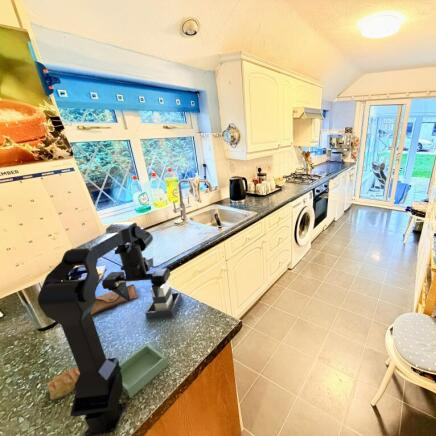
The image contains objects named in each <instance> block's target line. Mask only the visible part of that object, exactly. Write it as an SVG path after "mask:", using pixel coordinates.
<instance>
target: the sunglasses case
mask: <svg viewBox="0 0 436 436" xmlns="http://www.w3.org/2000/svg"><path fill="white" fill-rule="evenodd" d="M126 286H127V289H128V292H129V295H130V300H129V301H127V300H126V299H124V298H123V297H121V296H120V295H118V294H117V293H115V292H113V291H110V292H107V293H103V294H102V295H99V296H96V301H95V303H94V305H93V307H92V309H91V315H92V317H94V316H95V315H97V314H101V313H103V312H105V311H108V310H111V309H113V308H115V307H118V306H120V305H122V304H126V303H127V302H131V301H133V300H137V299H138V298H139V296H138V293H137V291H136V286H135V284H130V285H126Z"/></svg>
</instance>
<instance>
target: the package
mask: <svg viewBox="0 0 436 436" xmlns="http://www.w3.org/2000/svg"><path fill="white" fill-rule="evenodd" d="M169 280H170V279H169V278H168V280H167V281H166V283H165V284H163V285H162V286H161V287H160V292H159V296H158V298H156V297H155V295H154V292H153V289H152V286H151V287H150V293H151V297H152V301H153V302H154V305H155V309H156V311H165V310H170V308H171V306H172V304H173V297H172V293H173V292H172V287H171V285H170V281H169Z"/></svg>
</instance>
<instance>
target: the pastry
mask: <svg viewBox="0 0 436 436" xmlns="http://www.w3.org/2000/svg"><path fill="white" fill-rule="evenodd" d="M79 375H80V372H79V369H78V367H77V366H76V367H74V368H71V369H69V370H66V371H63V372H62V373H61V374H58V375H56V376H54V377H53V379H52V380H51V381H48V382H47V383H46V387H47V390H48V392H49V395H50V396H49V398H50V400H52V401H53V400H56V399H61V398H63V397H65V396H66V395H68V394H70V393H71V392H73V391H74V390H75V383H76V381H77V379H78V377H79Z"/></svg>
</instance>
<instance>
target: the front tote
mask: <svg viewBox="0 0 436 436" xmlns="http://www.w3.org/2000/svg"><path fill="white" fill-rule="evenodd" d="M119 366H120V367H121V370H120V371H121V374H122V381H123V393H124V394H125V395H126V396H127V397H128V398H129V399H132V398H133V397H134V396H135V395H136V394H137V393H138V392H139V391H141V389H142V388H144V387H145V386H146V385H147V384H148V383H149V382H151V381H152V380H153V379H154V378H155V377H156V376H157V375H159V373H161V371H163V370H164V369H165V368H166V367H167V366H168V361H167V357H165V356H164V355H163V354H162V353H160V352H159V351H157V349H155V348H154V347H153V346H151V345H150V344H148V343H146V344H144V346H142V347H141V348H140V349H138V350H137V351H136V352H134V353H133V354H131V355H130V356H129V357H127V359H125V360H124V361H122V362H121V363H119Z"/></svg>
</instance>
